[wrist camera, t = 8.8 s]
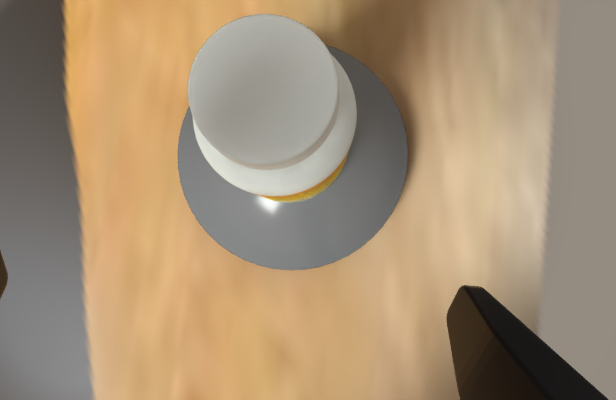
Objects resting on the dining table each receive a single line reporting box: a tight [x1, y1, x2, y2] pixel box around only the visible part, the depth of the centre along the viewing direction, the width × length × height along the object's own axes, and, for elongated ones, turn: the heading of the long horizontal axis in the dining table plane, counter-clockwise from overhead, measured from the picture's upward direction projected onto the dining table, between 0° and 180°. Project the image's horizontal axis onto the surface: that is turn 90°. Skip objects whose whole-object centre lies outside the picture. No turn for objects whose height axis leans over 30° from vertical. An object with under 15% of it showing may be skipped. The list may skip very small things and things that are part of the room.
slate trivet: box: [178, 45, 408, 270], centre depth 21 cm, size 11×11×1 cm
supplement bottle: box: [188, 14, 357, 203], centre depth 16 cm, size 5×5×10 cm
